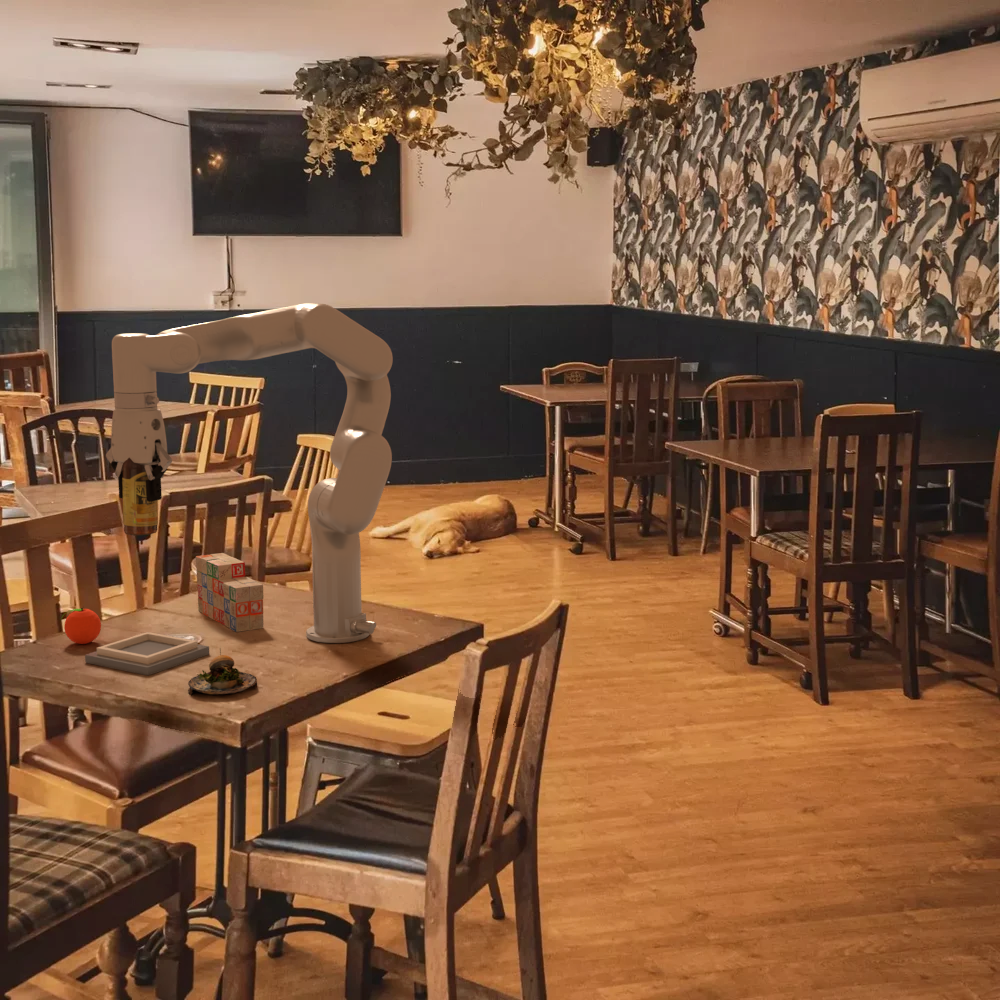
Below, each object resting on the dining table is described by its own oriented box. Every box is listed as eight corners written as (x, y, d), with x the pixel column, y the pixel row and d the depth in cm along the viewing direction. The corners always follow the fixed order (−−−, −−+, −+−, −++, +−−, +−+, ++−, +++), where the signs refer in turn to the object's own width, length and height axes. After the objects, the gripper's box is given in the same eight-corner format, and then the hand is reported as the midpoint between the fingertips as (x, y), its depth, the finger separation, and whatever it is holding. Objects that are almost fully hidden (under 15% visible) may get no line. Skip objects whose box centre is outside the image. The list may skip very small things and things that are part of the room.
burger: (179, 700, 232) (178, 658, 231) (197, 679, 244) (196, 639, 242) (249, 701, 231) (248, 659, 230) (264, 680, 243) (263, 640, 242)
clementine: (53, 647, 264) (51, 611, 262) (69, 637, 270) (67, 603, 269) (93, 648, 263) (91, 613, 261) (107, 639, 269) (106, 604, 268)
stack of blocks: (264, 628, 277) (263, 569, 275) (235, 633, 274) (233, 573, 272) (225, 607, 295) (223, 551, 293) (197, 611, 292) (195, 555, 290)
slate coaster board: (209, 654, 259) (208, 640, 258) (147, 675, 245) (147, 661, 245) (148, 642, 267) (147, 629, 266) (85, 662, 253) (84, 648, 253)
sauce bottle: (140, 538, 248) (135, 429, 244) (116, 534, 251) (111, 427, 247) (166, 532, 253) (162, 426, 250) (143, 528, 256) (138, 423, 253)
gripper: (185, 402, 247) (189, 499, 250) (117, 397, 255) (121, 492, 258) (155, 405, 240) (160, 506, 243) (86, 401, 249) (91, 497, 252)
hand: (140, 498), depth 251 cm, fingers closed on sauce bottle, 6 cm apart
